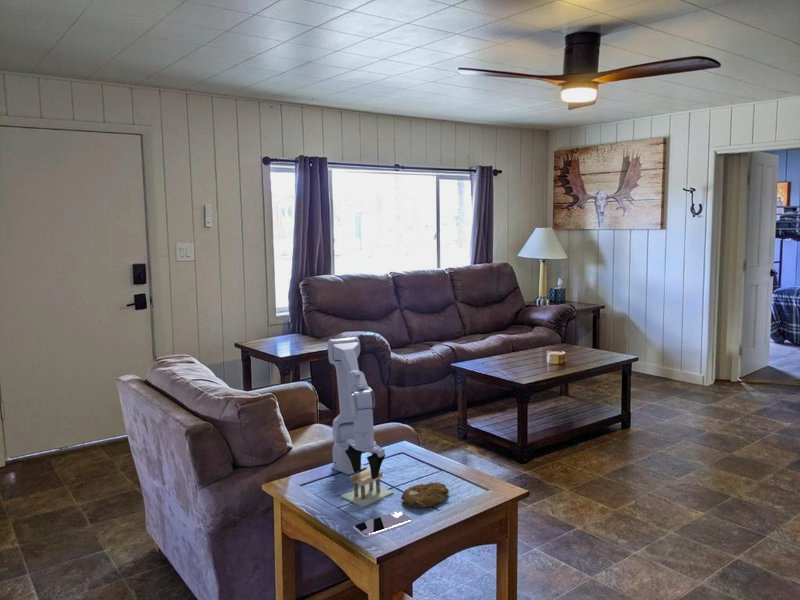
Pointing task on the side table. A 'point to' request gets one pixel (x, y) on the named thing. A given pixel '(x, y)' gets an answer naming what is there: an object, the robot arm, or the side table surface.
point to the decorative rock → (424, 495)
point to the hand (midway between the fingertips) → (366, 474)
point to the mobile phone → (382, 524)
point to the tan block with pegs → (365, 481)
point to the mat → (367, 495)
